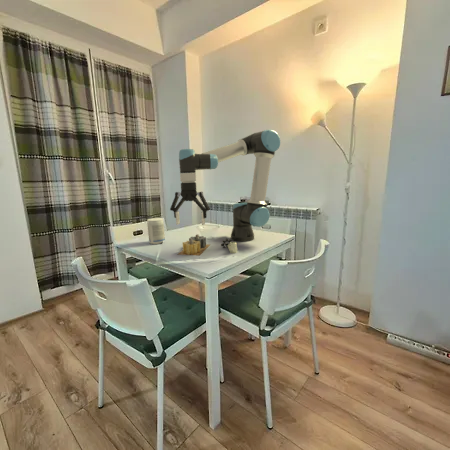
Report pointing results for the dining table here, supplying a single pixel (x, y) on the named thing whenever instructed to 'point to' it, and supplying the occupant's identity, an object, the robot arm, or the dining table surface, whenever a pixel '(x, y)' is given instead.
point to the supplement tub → (156, 230)
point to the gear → (202, 241)
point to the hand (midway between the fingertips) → (190, 224)
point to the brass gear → (191, 247)
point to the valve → (230, 246)
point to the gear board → (200, 248)
